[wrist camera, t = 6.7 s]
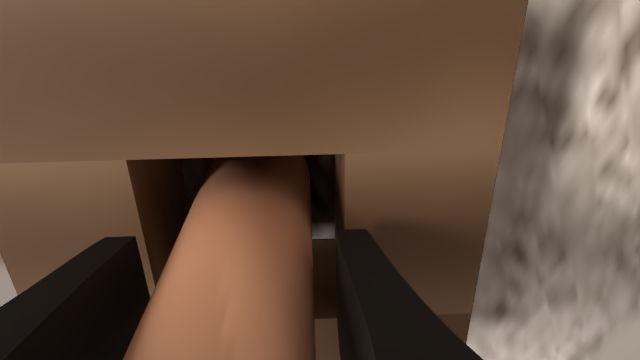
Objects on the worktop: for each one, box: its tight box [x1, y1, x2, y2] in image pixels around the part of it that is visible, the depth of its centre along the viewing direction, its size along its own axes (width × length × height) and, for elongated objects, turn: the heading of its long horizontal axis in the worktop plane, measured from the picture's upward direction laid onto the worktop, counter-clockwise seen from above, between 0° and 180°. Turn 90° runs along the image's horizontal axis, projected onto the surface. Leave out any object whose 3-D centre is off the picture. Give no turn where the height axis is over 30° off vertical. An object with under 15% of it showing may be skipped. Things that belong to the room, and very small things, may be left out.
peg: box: [123, 155, 316, 360], centre depth 9 cm, size 3×3×9 cm
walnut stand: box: [0, 0, 528, 360], centre depth 12 cm, size 11×11×4 cm
